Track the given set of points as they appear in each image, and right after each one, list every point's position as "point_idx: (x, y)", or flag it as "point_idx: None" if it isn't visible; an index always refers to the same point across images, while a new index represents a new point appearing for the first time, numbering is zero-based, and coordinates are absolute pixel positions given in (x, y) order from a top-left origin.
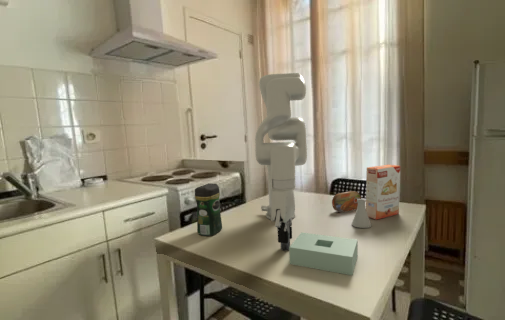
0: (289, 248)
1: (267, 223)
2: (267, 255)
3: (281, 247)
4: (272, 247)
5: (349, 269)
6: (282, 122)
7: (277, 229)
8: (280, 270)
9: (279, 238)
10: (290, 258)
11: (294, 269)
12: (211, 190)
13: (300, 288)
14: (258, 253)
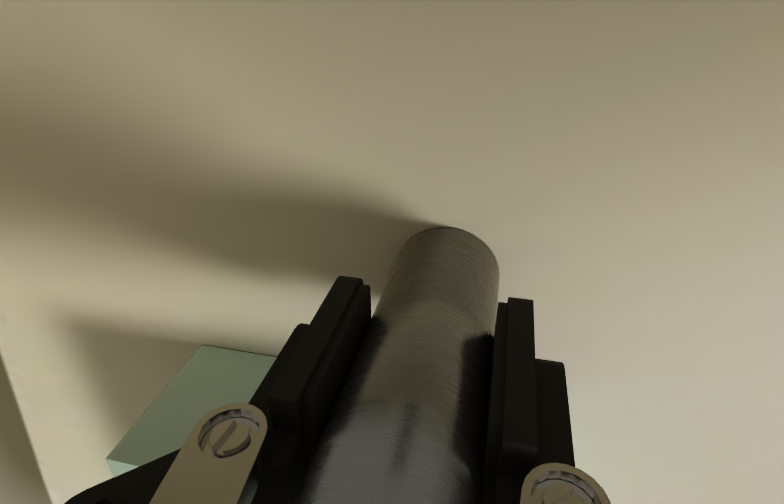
0: (115, 449)
1: None
2: (230, 139)
3: (400, 257)
4: (440, 124)
5: None
6: None
7: (194, 431)
8: (94, 303)
9: (292, 335)
10: (175, 383)
11: (160, 376)
12: None
13: (34, 411)
14: (217, 13)
